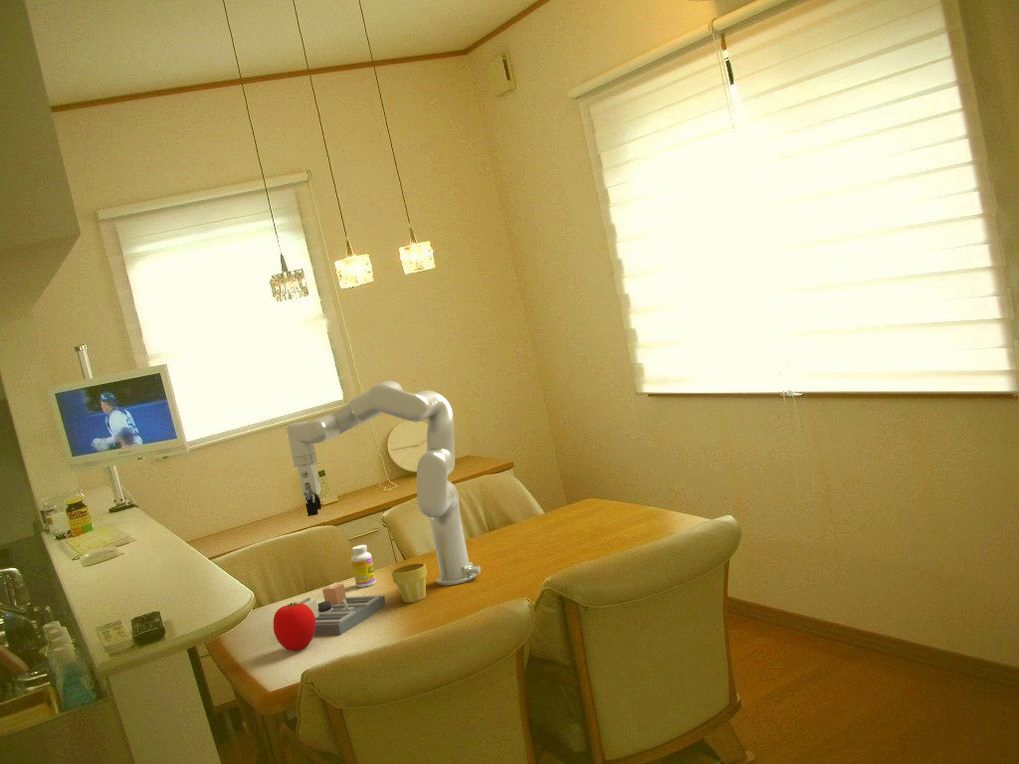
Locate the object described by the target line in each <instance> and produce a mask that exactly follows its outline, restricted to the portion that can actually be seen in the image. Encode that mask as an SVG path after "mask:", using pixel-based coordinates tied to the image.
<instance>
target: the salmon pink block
mask: <svg viewBox="0 0 1019 764" xmlns="http://www.w3.org/2000/svg"><path fill="white" fill-rule="evenodd" d="M322 594H323V598H324V601H330V604H331V605H333V604H341V603H342V602H343V601H342V600H343V599H345V600H346V597H347V595H346V591H345V585H344V583H338V582H334V583H332V584H330V585H328V586H326V587H325V588H322Z"/></svg>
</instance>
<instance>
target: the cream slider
mask: <svg viewBox="0 0 1019 764" xmlns="http://www.w3.org/2000/svg"><path fill="white" fill-rule="evenodd" d="M298 603H303V604H305V605H307V606H308V607H309V608H310V609H311V610H312V612H313V613H314V616H315V618H317V617H319V612H318V602H317V599H315V598H313V599H311V597H307V598H305V599H302V600H301V601H298Z"/></svg>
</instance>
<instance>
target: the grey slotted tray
mask: <svg viewBox="0 0 1019 764" xmlns="http://www.w3.org/2000/svg"><path fill="white" fill-rule="evenodd" d="M342 601H343V602H342V603H341V604H333V605H331V609H330V610H328V611H324V612H319V608H318V612H319V617H317V618H315V619H316V629H315V633H314V636H313V637H315V636H316V637H317V636H341V635H343V634H344V633H346V632H347V631H349V630H351V629H352V628H353V627H356V626H357V625H359V624H360V623H361V622H364V621H365V620H366V619H368V618H370V617H371V616H373V615H374V614H376V613H378V612H379V611H380V610H381V609H383V608H385V607H386V606H387V602H386V599H385V596H384V595H378V594H377V595H361V596H359V595H358V596H346V600H345V599H343V600H342Z"/></svg>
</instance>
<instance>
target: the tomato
mask: <svg viewBox="0 0 1019 764" xmlns="http://www.w3.org/2000/svg"><path fill="white" fill-rule="evenodd" d="M272 624H273V627H272V628H273V629H272V630H273V634H274V636H275V638H276V640H277V642H278V643H279V644H280V645H281V646H282V647H283V648H284V650H287V651H289V652H290V651H291V652H298V651H302V650H304V649H305V648H307V647H308V646H309V645H310V643H311V642H312V640H313V637H315V636H314V633H315V629H316V619H315V616H314V613H313V612H312V610H311V609H310V608H309V607H308V606H307V605H305V604H303V603H299V602H290V604H285V605H283V606H281V607H279V608H278V609H277V610H276V612H274V615H273V621H272Z"/></svg>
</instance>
